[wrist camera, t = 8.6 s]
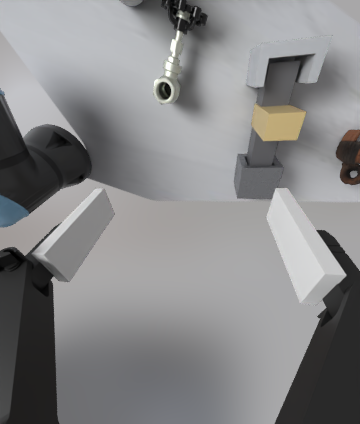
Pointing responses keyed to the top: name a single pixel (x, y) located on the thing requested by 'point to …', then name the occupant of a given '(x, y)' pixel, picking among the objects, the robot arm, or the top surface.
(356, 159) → the rusty metal ring bracket
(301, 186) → the top surface
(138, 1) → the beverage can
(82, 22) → the top surface
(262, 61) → the socket
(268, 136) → the two-tone stepped block
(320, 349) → the robot arm
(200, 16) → the valve
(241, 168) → the gray block
